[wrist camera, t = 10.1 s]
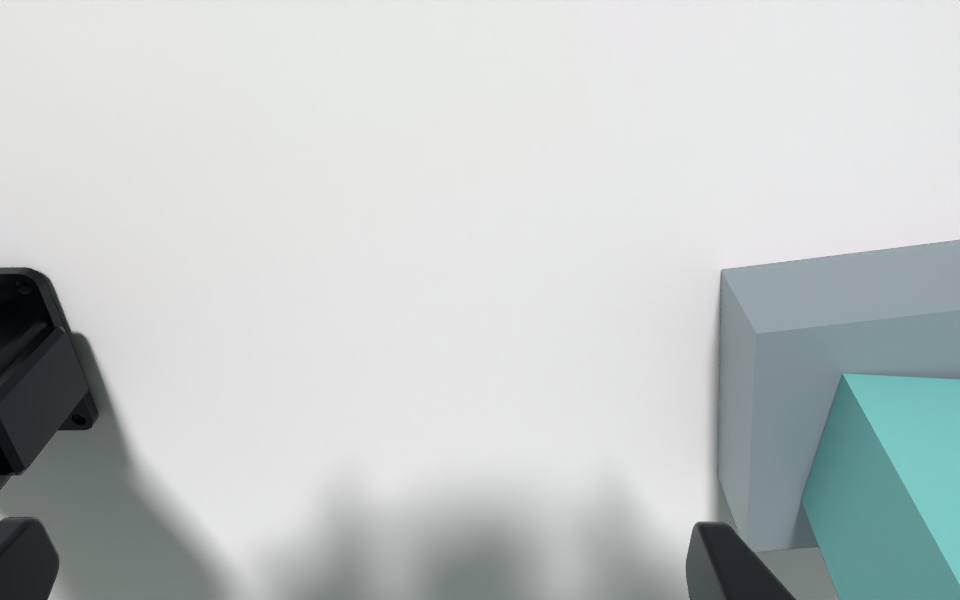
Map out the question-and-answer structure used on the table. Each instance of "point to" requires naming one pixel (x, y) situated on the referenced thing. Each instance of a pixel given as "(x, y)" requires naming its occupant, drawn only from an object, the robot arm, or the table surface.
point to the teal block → (889, 489)
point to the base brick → (818, 365)
